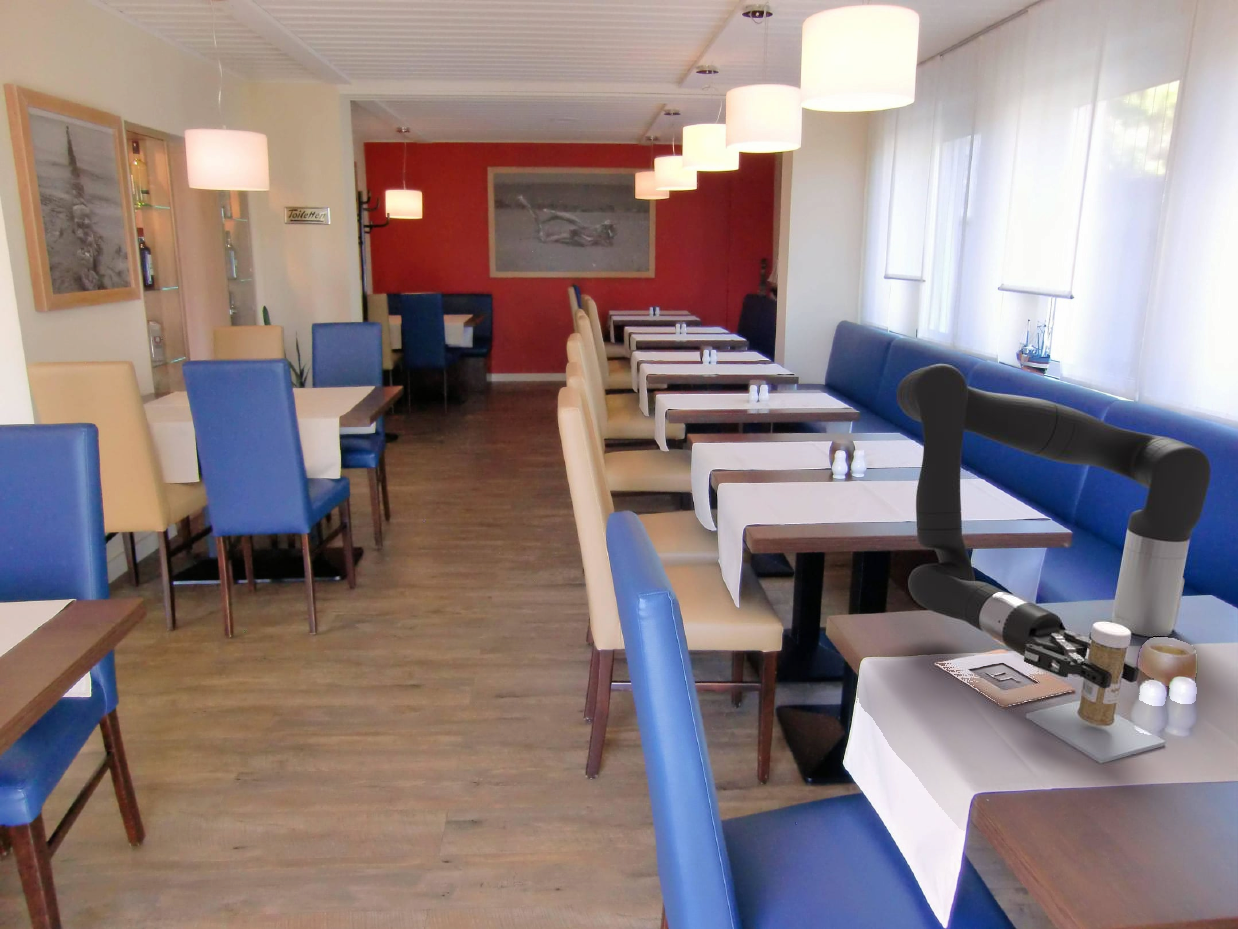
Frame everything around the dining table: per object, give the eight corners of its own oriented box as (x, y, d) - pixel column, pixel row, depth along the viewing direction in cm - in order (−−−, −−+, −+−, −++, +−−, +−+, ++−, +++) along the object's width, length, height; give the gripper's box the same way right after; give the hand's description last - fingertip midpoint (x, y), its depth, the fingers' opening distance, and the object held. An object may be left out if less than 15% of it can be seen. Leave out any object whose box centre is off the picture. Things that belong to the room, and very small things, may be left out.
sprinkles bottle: (1117, 730, 117) (1135, 637, 114) (1079, 723, 119) (1096, 631, 115) (1109, 713, 122) (1127, 623, 118) (1073, 707, 123) (1089, 618, 119)
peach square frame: (1002, 651, 144) (1002, 648, 143) (1075, 691, 131) (1075, 689, 131) (934, 664, 138) (934, 662, 138) (1003, 708, 126) (1004, 705, 126)
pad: (1087, 702, 128) (1088, 698, 128) (1165, 745, 117) (1165, 741, 117) (1025, 717, 123) (1026, 713, 123) (1100, 763, 113) (1101, 759, 113)
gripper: (986, 608, 127) (1088, 661, 112) (1059, 595, 133) (1165, 644, 117) (979, 655, 129) (1078, 714, 114) (1051, 641, 135) (1155, 695, 119)
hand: (1122, 678), depth 116 cm, fingers closed on sprinkles bottle, 4 cm apart
